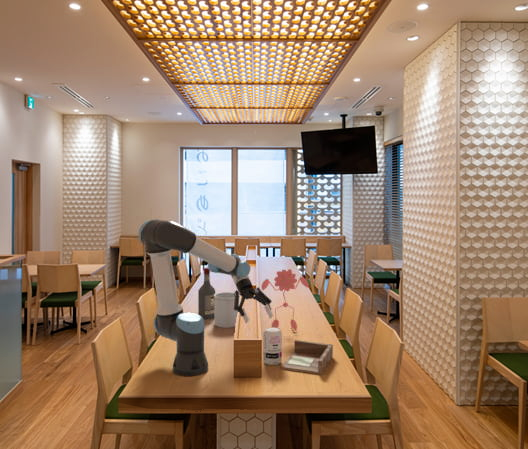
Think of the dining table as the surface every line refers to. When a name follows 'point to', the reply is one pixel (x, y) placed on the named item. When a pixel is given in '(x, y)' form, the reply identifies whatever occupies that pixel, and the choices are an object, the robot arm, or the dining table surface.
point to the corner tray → (309, 357)
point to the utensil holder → (224, 309)
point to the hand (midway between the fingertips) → (259, 319)
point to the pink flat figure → (287, 283)
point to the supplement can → (272, 346)
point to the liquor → (206, 297)
